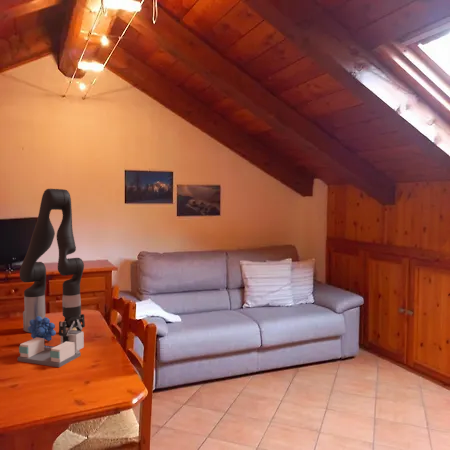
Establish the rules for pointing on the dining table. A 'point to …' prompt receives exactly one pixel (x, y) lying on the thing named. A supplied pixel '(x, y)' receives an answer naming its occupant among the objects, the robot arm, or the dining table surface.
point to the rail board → (47, 353)
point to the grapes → (42, 328)
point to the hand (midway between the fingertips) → (72, 341)
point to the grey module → (76, 338)
